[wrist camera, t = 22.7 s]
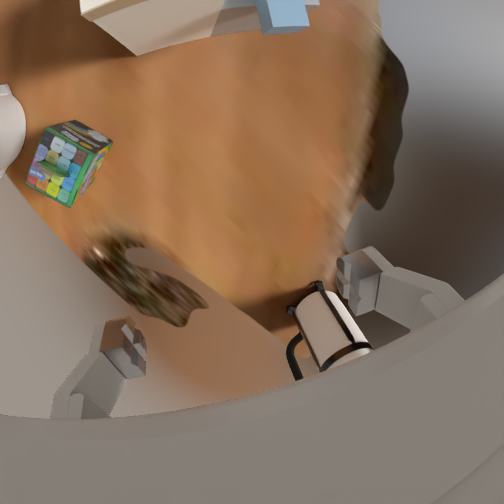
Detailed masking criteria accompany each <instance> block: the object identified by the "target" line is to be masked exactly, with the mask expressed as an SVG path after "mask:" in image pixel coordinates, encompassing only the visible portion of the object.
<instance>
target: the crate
mask: <svg viewBox="0 0 504 504" xmlns="http://www.w3.org/2000/svg"><path fill="white" fill-rule="evenodd" d="M304 4H305V8H306V12H309V11H310V10H312V9H314V8H316V7H317V6H319V5H320V4H319V0H304ZM252 30H262V29H261V24H260V20H259V15H258V11H257V7H256V3H255V0H225V1H224V4H223V6H222V8H221V11H220V13H219V16H218V18H217V21H216V23H215V26H214V28H213V31H212V34H211V36H210V37H212V36H217V35H223V34H229V33H236V32H244V31H252Z"/></svg>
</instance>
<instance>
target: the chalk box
mask: <svg viewBox="0 0 504 504" xmlns="http://www.w3.org/2000/svg"><path fill="white" fill-rule="evenodd" d="M112 143H113V141H112V140H110V139H109V138H107V137H105V136H103V135H102V134H100V133H98V132H97V131H95V130H93V129H91V128H89V127H87V126H86V125H84V124H82V123H80V122H78V121H76V120H73V121H69V122H65V123H61V124H58V125H54V126H50V127H46V128H45V130H44V133H43V135H42V137H41V140H40V142H39V144H38V147H37V149H36V152H35V155H34V158H33V160H32V163H31V166H30V169H29V172H28V174H27V178H26V181H25V184H27V185H29V186H30V187H32V188H34V189H35V190H37V191H39V192H41V193H42V194H44V195H46V196H48V197H50V198H51V199H53V200H55V201H57V202H59V203H61V204H63V205H65V206H66V207H69V208H71V206H72V205H73V204H74V203H75V202H76V201H77V199H78V198H79V197H80V196H81V195H82V194H83V192H84V191H85V190H86V189H87V188H88V187H89V186H90V185H91V183H92V181H93V180H94V178H95V176H96V174H97V172H98V170H99V168H100V166H101V164H102V162H103V160H104V158H105V156H106V154H107V152H108V151H109V149H110V147H111V145H112Z"/></svg>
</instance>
